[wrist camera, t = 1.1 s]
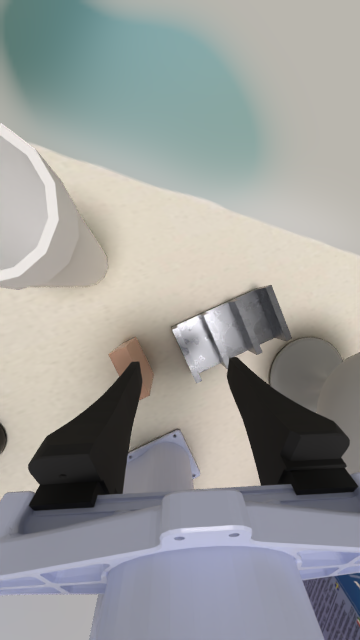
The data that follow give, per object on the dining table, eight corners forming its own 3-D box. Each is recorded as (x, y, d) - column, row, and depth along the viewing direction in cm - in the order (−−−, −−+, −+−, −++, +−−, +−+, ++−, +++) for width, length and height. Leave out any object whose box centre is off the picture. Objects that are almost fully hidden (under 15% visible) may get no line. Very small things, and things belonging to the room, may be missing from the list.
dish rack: (192, 373, 25) (196, 383, 21) (171, 326, 24) (172, 329, 21) (274, 334, 25) (292, 338, 22) (256, 288, 25) (271, 284, 21)
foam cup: (44, 227, 22) (-133, 111, 9) (116, 226, 23) (48, 115, 10) (51, 300, 23) (-103, 288, 10) (121, 297, 23) (64, 282, 10)
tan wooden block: (141, 380, 24) (132, 403, 18) (123, 343, 24) (108, 354, 18) (153, 374, 24) (149, 395, 18) (136, 337, 24) (125, 346, 18)
